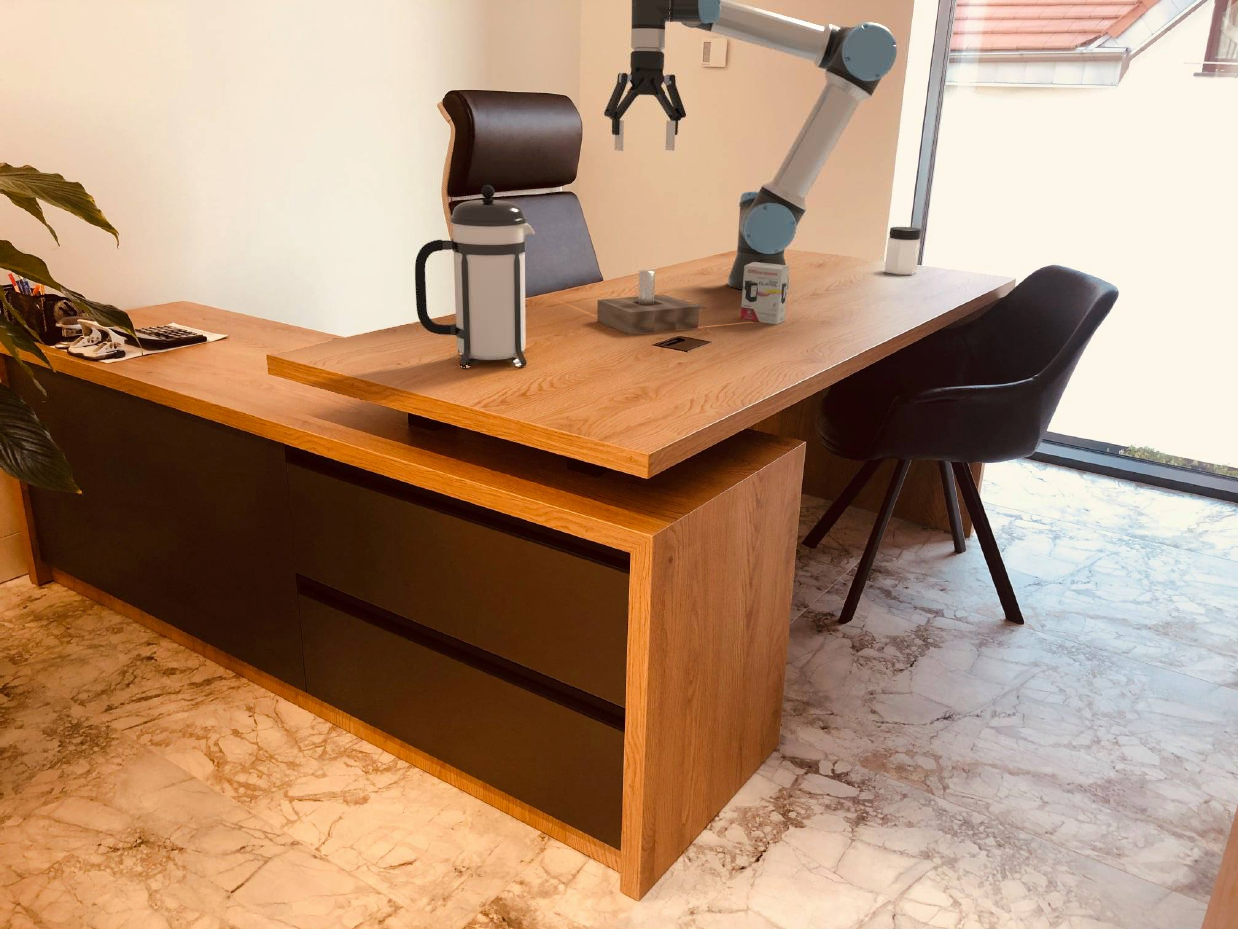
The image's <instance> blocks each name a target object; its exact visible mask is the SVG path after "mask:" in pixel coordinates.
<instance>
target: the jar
mask: <svg viewBox="0 0 1238 929" xmlns="http://www.w3.org/2000/svg"><path fill="white" fill-rule="evenodd" d="M921 231H922V230H921V228H918V227H912V226H893V227H892V226H891V227H890V229H889V232H888V233H889V237H888V238H887V246H886V254H885V255H886V256H885V264H884V273H888V274H892V275H899V276H900V275H904V276H906V275H907V276H908V275H909V276H913V275H914V274H916V273H917V270H918V261H919V254H920V253H919V252H920V247H921Z"/></svg>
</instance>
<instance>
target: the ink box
mask: <svg viewBox="0 0 1238 929" xmlns="http://www.w3.org/2000/svg"><path fill="white" fill-rule="evenodd" d="M789 269H790V267H789V266H788V265H787V264H786V265H778V264H768V263H759V262H752V263H750V264H747V265H745V266H744V278H743V289H742V292H741V293H742V294H741V304H740V305H741V306H740V308H741V310H740V319H743V320H744V319H745V320H750V321H752V322H756V323H763V324H771V325H778V324H781V323H783V322H784V321H785V318H786V305H787V295H788V288H787V283H788V277H789V272H790V270H789Z"/></svg>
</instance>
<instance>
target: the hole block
mask: <svg viewBox="0 0 1238 929" xmlns="http://www.w3.org/2000/svg"><path fill="white" fill-rule="evenodd" d="M685 301H686V300H683V301H682V300H681V299H679V298H676V297H672V296H671V295H670V296H669V295H667V294H663V293H662V294H654V305H651V306H642V305H639V304H638V296H628V297H617V298H616V297H615V298H604V299H597V311H596V312H597V313H596V314H597V315H596V317H597V318H596V319H597V320H596V321H597V322H598V323H601V324H603V325H605V326H607V327H610V328H612V329H616V330H618V331H620V332H622V333H625V334H627V335H629V336H631V335H632V336H633V335H643V334H644V335H645V334H654V333H662V332H671V331H672V332H673V331H674V332H675V331H683V330H684V331H685V330H691V329H692V330H693V329H698V328H699V317H700V316H699V315H700V309H699V306H700V305H698V304H695V303H692V302H689V301H686V302H685ZM688 302H689V303H688ZM691 303H692V304H691ZM694 304H695V305H694ZM697 305H698V306H697Z"/></svg>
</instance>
